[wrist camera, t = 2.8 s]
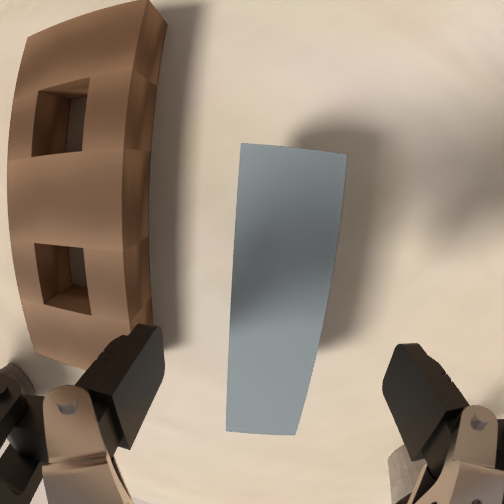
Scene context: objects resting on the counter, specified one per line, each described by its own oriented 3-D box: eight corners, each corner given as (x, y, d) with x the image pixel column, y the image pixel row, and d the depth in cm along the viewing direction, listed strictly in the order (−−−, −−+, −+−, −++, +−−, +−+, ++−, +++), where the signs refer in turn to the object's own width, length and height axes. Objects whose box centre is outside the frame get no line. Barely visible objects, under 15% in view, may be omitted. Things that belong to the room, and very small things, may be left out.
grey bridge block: (250, 154, 15) (240, 143, 9) (314, 160, 15) (347, 154, 9) (236, 358, 19) (225, 431, 13) (288, 362, 19) (295, 435, 12)
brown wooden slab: (56, 49, 13) (27, 37, 10) (167, 23, 13) (147, -2, 10) (58, 330, 19) (35, 352, 16) (156, 353, 19) (139, 384, 16)
